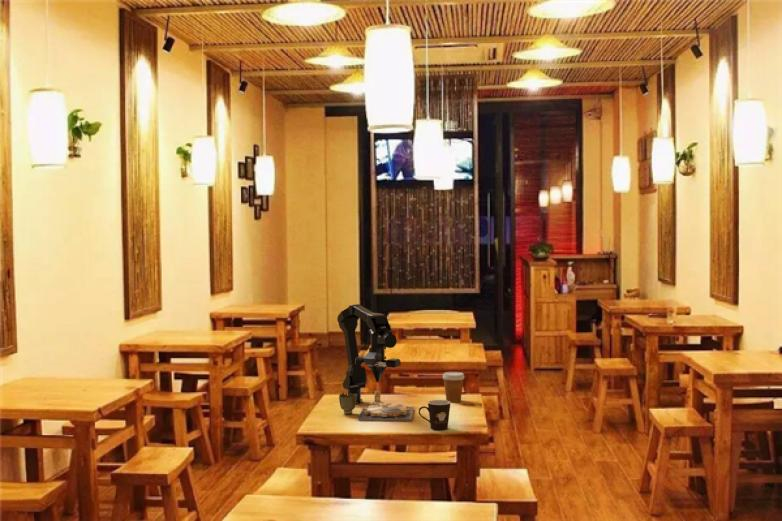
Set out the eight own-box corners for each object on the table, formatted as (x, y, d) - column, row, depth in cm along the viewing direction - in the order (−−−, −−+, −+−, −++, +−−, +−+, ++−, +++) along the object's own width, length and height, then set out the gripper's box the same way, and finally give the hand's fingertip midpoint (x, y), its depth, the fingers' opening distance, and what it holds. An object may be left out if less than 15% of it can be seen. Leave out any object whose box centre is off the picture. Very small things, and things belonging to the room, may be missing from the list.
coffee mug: (452, 426, 325) (452, 400, 325) (448, 431, 317) (448, 405, 316) (422, 424, 328) (422, 399, 327) (418, 430, 319) (417, 404, 319)
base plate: (363, 408, 356) (363, 405, 356) (414, 409, 354) (413, 406, 354) (358, 420, 335) (358, 417, 335) (411, 421, 333) (411, 418, 333)
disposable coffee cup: (446, 403, 364) (446, 376, 363) (439, 399, 373) (439, 372, 372) (467, 402, 366) (467, 375, 365) (460, 398, 375) (460, 371, 375)
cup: (354, 416, 342) (354, 396, 342) (336, 415, 344) (336, 396, 343) (359, 412, 350) (358, 392, 349) (341, 411, 351) (341, 392, 351)
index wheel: (352, 411, 346) (351, 395, 346) (385, 404, 359) (385, 389, 359) (385, 420, 331) (385, 403, 331) (419, 412, 344) (419, 396, 344)
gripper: (348, 346, 348) (348, 383, 348) (388, 349, 339) (389, 387, 340) (361, 342, 357) (361, 379, 358) (401, 345, 349) (401, 382, 350)
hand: (377, 382), depth 351 cm, fingers closed
